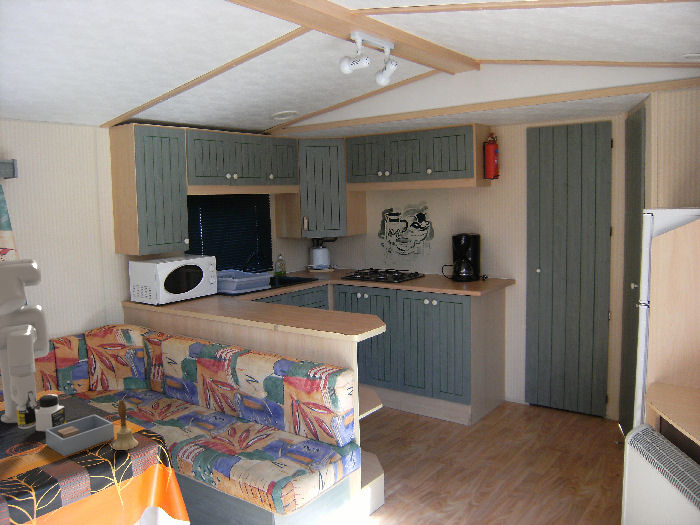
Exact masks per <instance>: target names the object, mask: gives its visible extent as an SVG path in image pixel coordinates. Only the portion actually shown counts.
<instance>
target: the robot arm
mask: <svg viewBox="0 0 700 525" xmlns="http://www.w3.org/2000/svg"><path fill="white" fill-rule="evenodd" d="M41 281H42V272H41V269H40V266H39V264H38V263H37V261H36V260H35V259H32V258H26V259H9V260H8V259H7V260H0V374H1V381H2V382H1V384H2V393H3V402H4V414H2V415H1V417H0V421H1V422H2V423H5V424H16V423H17V424H18V422H17V409H16V407H17V405H18V404H19V405H21V406H23V405H24V408H25V412H26V413H24V416H25V424H30V423H33V422H36V415H35V412H36V411H38V410H39V409H37V408H36V407H37V403H36V402H37V401H38V400H37V399H38V398H37V397H38V396H37V387H36V380H35V375H34V373H35V372H36V364H35V363H36V362H35V359H38V358H43V357H46V356H47V355H48V354H49V352H50V343H49V342H50V341H49V340H50V339H49V333H48V327H47V326H48V325H47V317H46V313H45V310H44V309H43V307H42V305H39V304H28V305H26V303H27V299H26V298H27V297H26V293H25V292H26V291H25V287H26V288H27V287H33V286H34V287H36V286H38V285H40V283H41ZM27 401H29V403H27ZM29 404H30V406H29V407H28V408H27V405H29Z"/></svg>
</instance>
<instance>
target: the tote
mask: <svg viewBox="0 0 700 525" xmlns="http://www.w3.org/2000/svg"><path fill="white" fill-rule="evenodd" d="M71 426H73V427H75V428H76V429H78V430H79V434H77V435H74V436H71V437H68V438H65V439H63V438H61V437H60V436H58V435H57V431H58V430H61V429H65V428H68V427H71ZM114 428H115V425H114V422H111V421H109V420H107V419H105V418H104V417H102V416H99V415H97V414H96V413H95V414H91V415H89V416H88V415H87V416H84V417H82V418H79V419H76V420H72V421H69V422H66V424H62V425H59V426H56V427H53V428H50V429H46V430H45V431H44V432H45V439H46V443H45V444H46V446H47V447H49V448H51V449H52V450H53V451H55V452H56V453H58V454H60V455H61V456H63V457H66V456H69V455H72V454H74V453H77V452H80V451H84V450H86V449H89V448H91V447H90V446H92V447H94V446H93V445H95V446H97V445H100V444H103V443H106V442H108V440H109V441H111V439H112V440H114V439H115V429H114ZM105 441H106V442H105ZM102 442H103V443H102ZM99 443H100V444H99ZM96 444H97V445H96ZM88 447H89V448H88ZM85 448H86V449H85Z"/></svg>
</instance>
